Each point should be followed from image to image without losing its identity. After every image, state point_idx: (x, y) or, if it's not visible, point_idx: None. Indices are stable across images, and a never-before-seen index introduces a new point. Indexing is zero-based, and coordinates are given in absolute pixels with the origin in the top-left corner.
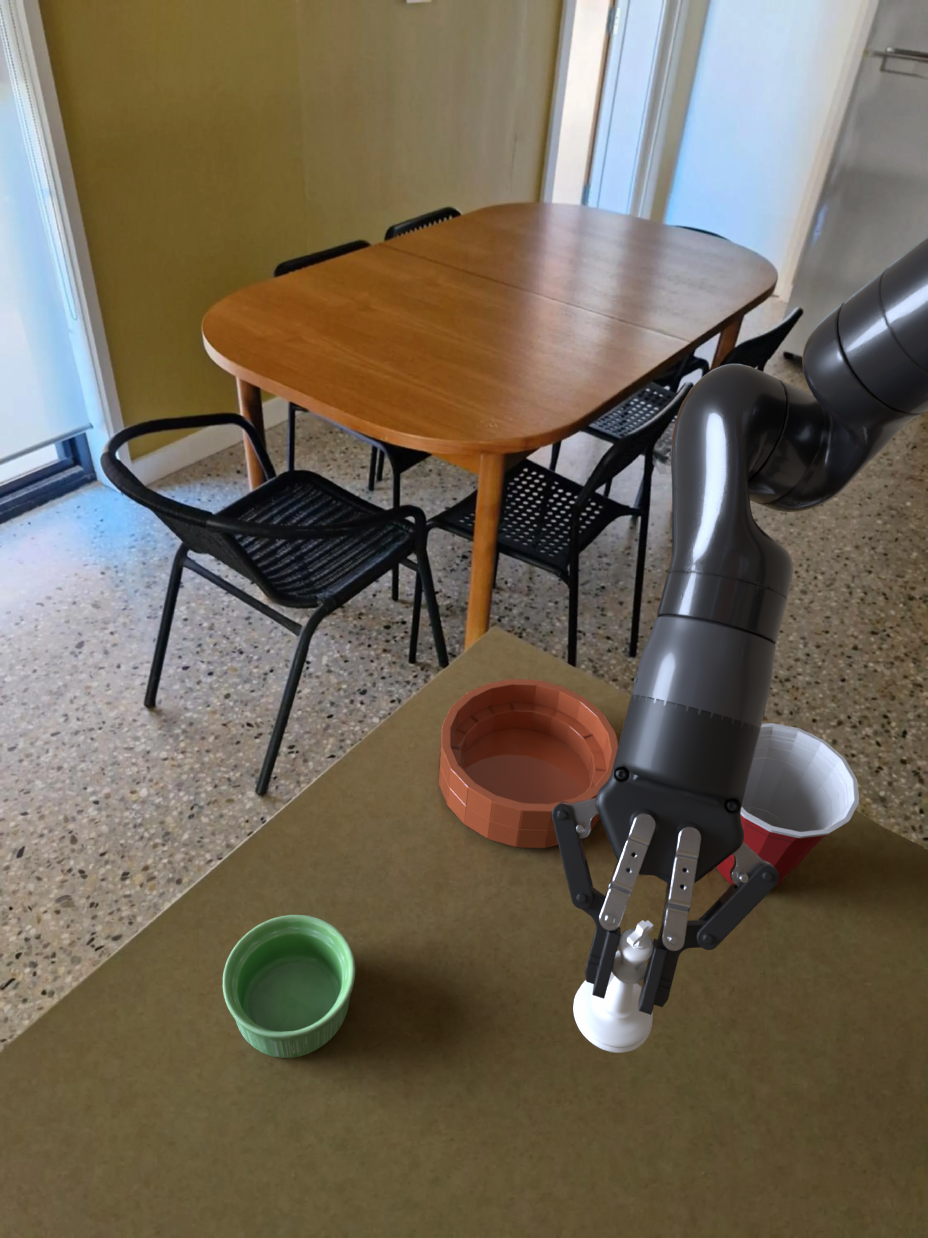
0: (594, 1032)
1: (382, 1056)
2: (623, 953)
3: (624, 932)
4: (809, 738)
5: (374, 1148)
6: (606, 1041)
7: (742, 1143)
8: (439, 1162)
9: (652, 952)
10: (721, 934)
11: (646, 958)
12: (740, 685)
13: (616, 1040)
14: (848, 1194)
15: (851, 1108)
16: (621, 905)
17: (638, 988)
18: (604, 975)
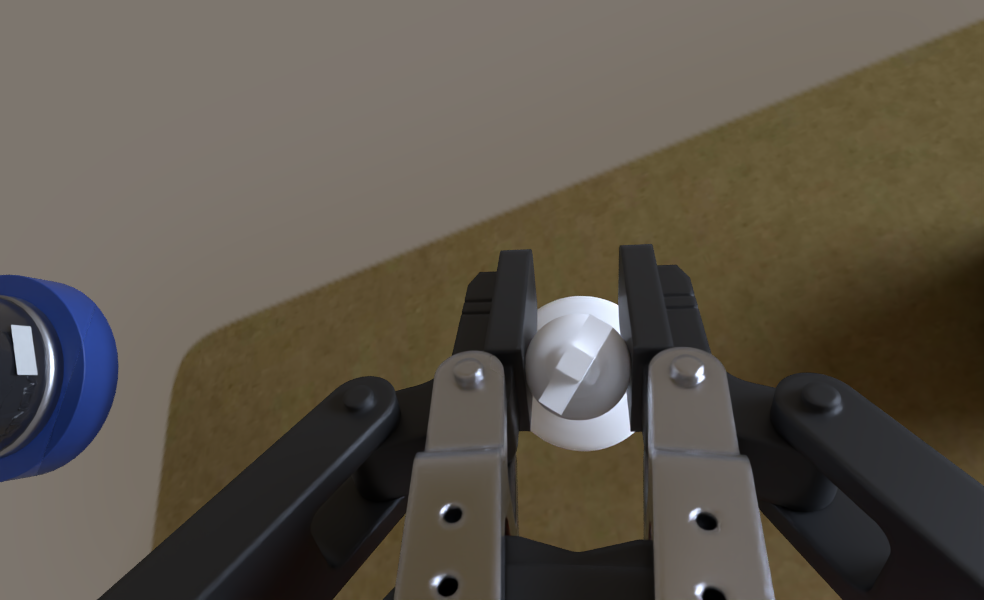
0: (606, 306)
1: (898, 291)
2: (607, 323)
3: (620, 390)
4: None
5: (845, 173)
6: (580, 298)
7: (372, 364)
8: (749, 192)
9: (526, 356)
10: (316, 424)
11: (539, 331)
12: None
13: (563, 305)
14: (249, 351)
15: (240, 461)
16: (667, 416)
17: (543, 426)
18: (639, 269)
